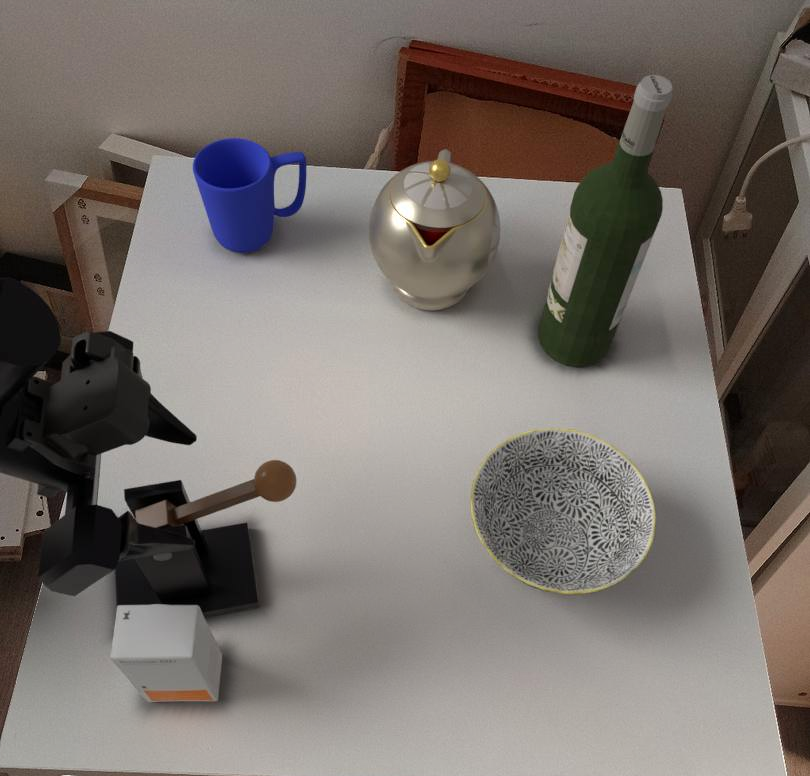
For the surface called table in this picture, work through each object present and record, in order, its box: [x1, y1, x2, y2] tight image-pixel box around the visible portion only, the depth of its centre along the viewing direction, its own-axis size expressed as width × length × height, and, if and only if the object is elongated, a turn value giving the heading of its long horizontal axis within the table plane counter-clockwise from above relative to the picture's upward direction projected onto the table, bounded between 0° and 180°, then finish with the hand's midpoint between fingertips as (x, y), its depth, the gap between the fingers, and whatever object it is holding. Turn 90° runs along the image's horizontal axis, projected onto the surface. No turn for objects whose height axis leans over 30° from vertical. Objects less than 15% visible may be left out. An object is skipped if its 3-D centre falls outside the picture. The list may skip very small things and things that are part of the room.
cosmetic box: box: [109, 604, 223, 703], centre depth 65 cm, size 6×4×12 cm
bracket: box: [114, 479, 261, 618], centre depth 69 cm, size 12×8×13 cm, turn 102°
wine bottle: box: [537, 74, 673, 368], centre depth 76 cm, size 8×8×30 cm
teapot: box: [368, 148, 501, 311], centre depth 86 cm, size 18×14×16 cm
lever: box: [135, 459, 297, 529], centre depth 64 cm, size 13×3×3 cm, turn 102°
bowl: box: [470, 427, 657, 595], centre depth 74 cm, size 16×16×8 cm
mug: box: [192, 137, 308, 254], centre depth 91 cm, size 8×12×10 cm
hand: (192, 491), depth 63 cm, fingers open, 9 cm apart
